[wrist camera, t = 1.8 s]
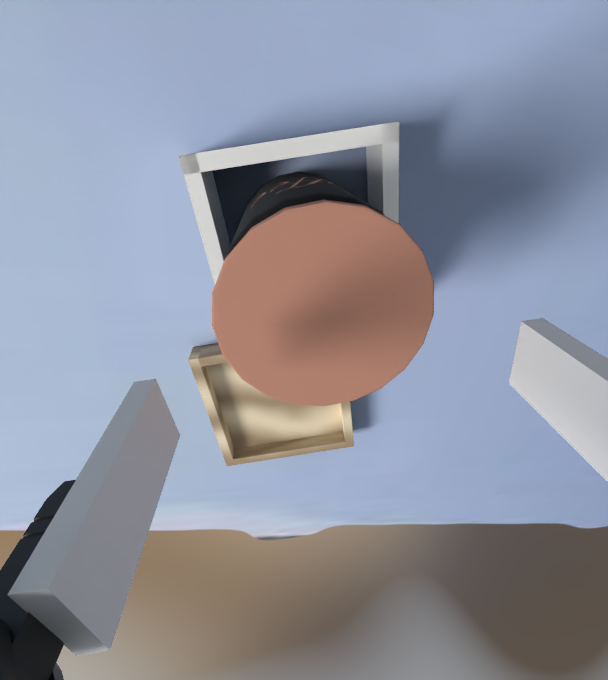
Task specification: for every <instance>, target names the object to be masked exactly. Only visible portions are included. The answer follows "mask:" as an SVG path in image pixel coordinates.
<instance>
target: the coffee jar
mask: <svg viewBox="0 0 608 680" xmlns="http://www.w3.org/2000/svg"><path fill="white" fill-rule="evenodd" d="M433 314H434V281H433V278H432V275H431V273H430V270H429V267H428V264H427V261H426V259H425V256H424V253H423V250H422V249H421V248H420V247H419V246H418V244H417V243H416V242H415V241H414V240H413V239H412V238H411V236H410V235H409V234H408V233H407V232H406V231H405V229H404V228H403V227H402V226H401V225H400V224H399V223H397V222H395V221H394V220H392V219H390V218H388V217H386V216H385V215H384V214H383V213H382V212H381V211H379V210H377V209H376V208H374V207H373V206H371V205H369V204H368V203H366V202H364V201H363V200H361V199H360V198H358V197H356V196H355V195H353V194H351V193H350V192H348V191H347V190H345V189H343V188H342V187H340V186H339V185H337V184H335V183H333V182H331V181H330V180H328V179H326V178H324V177H322V176H320V175H317V174H310V173H304V172H295V173H291V174H286V175H281V176H278V177H276V178H275V179H273V180H271V181H270V182H268V183H266V184H265V185H263V186H262V187H261V188H260V189H259V190H258V191H257V193H256V194H255V195H254V196H253V198H252V199H251V200H250V201H249V202H248V205H247V207H246V210H245V212H244V214H243V217H242V219H241V221H240V224H239V226H238V228H237V231H236V233H235V235H234V238H233V240H232V243H231V245H230V248H229V250H228V253H227V256H226V258H225V260H224V263H223V266H222V268H221V271H220V274H219V276H218V279H217V282H216V284H215V287H214V290H213V292H212V327H213V329H214V332H215V335H216V338H217V341H218V343H219V346H220V349H221V352H222V355H223V357H224V358H225V359H226V360H227V361H228V363H229V364H230V365H231V366H232V368H233V369H234V370H235V371H236V373H237V374H238V375H239V376H240V378H241V379H242V380H244V381H245V382H247V383H248V384H250V385H251V386H253V387H254V388H256V389H257V390H259V391H260V392H262V393H263V394H265V395H266V396H269V397H272V398H275V399H278V400H281V401H284V402H288V403H291V404H294V405H309V406H329V405H334V404H339V403H344V402H349V401H354V400H356V399H358V398H361V397H363V396H365V395H367V394H369V393H372V392H374V391H376V390H378V389H380V388H382V387H383V386H384V385H386V384H387V383H388V382H389V381H391V380H392V379H393V378H394V377H396V376H397V375H398V374H399V373H401V372H402V371H403V370H404V369H405V368H406V367H407V366H408V364H409V363H410V361H411V360H412V359H413V357H414V356H415V355H416V353H417V352H418V350H419V349H420V348H421V346H422V345H423V343H424V340H425V337H426V335H427V332H428V329H429V326H430V323H431V320H432V317H433Z"/></svg>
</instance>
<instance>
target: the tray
mask: <svg viewBox="0 0 608 680" xmlns="http://www.w3.org/2000/svg"><path fill="white" fill-rule="evenodd" d="M188 361H189V364H190V366H191V369H192V372H193V375H194V377H195V380H196V383H197V385H198V388H199V391H200V394H201V396H202V399H203V402H204V404H205V407H206V410H207V413H208V415H209V418H210V421H211V424H212V426H213V429H214V432H215V434H216V437H217V440H218V443H219V445H220V448H221V451H222V454H223V456H224V459H225V462H226V464H227V466H231V465H237V464H244V463H250V462H256V461H263V460H269V459H275V458H282V457H288V456H295V455H301V454H307V453H314V452H320V451H326V450H333V449H339V448H345V447H352V446H354V441H353V429H352V418H351V406H350V401H349V402H344V403H339V404H334V405H329V406H309V405H294V404H291V403H288V402H284V401H281V400H278V399H275V398H272V397H269V396H266V395H265V394H263V393H262V392H260V391H259V390H257V389H256V388H254V387H253V386H251V385H250V384H248V383H247V382H245V381H244V380H242V379H241V378H240V376H239V375H238V374H237V373H236V371H235V370H234V369H233V368H232V366H231V365H230V364H229V363H228V361H227V360H226V359H225V358H224V357H223V355H222V352H221V349H220V346H219V343H218V344H211V345H205V346H199V347H193V349H192V352H191V354H190V357H189V359H188Z"/></svg>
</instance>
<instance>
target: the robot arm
mask: <svg viewBox="0 0 608 680" xmlns="http://www.w3.org/2000/svg"><path fill="white" fill-rule="evenodd" d="M509 384H510V385H511V386H512V387H513V388H514V389H515V390H516V391H517V392H518V393H519V394H520V395H521V396H522V397H523V398H524V399H525V400H526V401H527V402H528V403H529V404H530V405H531V406H532V407H533V408H534V409H535V410H536V411H537V412H538V413H539V414H540V415H541V416H542V417H543V418H544V419H545V420H546V421H547V422H548V423H549V424H550V425H551V426H552V427H553V428H554V429H555V430H556V431H557V432H558V433H559V434H560V435H561V436H562V437H563V438H564V439H565V440H566V441H567V442H568V443H569V444H570V445H571V446H572V447H573V448H574V449H575V450H576V451H577V452H578V453H579V454H580V455H581V456H582V457H583V458H584V459H585V460H586V461H587V462H588V463H589V464H590V465H591V466H592V467H593V468H594V469H595V470H596V471H597V472H598V473H599V474H600V475H601V476H602V477H603V478H604V479H605V480H606V481H607V482H608V359H607V358H606V357H604V356H602V355H601V354H599V353H598V352H596V351H594V350H593V349H591V348H590V347H588V346H586V345H585V344H583V343H582V342H580V341H578V340H577V339H575V338H574V337H572V336H571V335H569V334H567V333H566V332H564V331H563V330H561V329H559V328H558V327H556V326H555V325H553V324H551V323H550V322H548V321H547V320H545V319H543V318H540V319H534V320H527V321H521V326H520V331H519V336H518V341H517V346H516V351H515V356H514V361H513V366H512V371H511V375H510V380H509ZM179 437H180V434H179V432H178V429H177V427H176V425H175V422H174V420H173V418H172V415H171V413H170V411H169V408H168V406H167V404H166V402H165V399H164V397H163V395H162V392H161V390H160V388H159V385H158V383H157V381H156V379H151V380H145V381H139V382H134V384H133V385H132V387H131V389H130V390H129V392H128V394H127V395H126V397H125V399H124V400H123V402H122V404H121V405H120V407H119V409H118V410H117V412H116V414H115V415H114V417H113V419H112V420H111V422H110V424H109V425H108V427H107V429H106V430H105V432H104V434H103V435H102V437H101V439H100V440H99V442H98V444H97V446H96V447H95V449H94V451H93V452H92V454H91V456H90V457H89V459H88V461H87V462H86V464H85V466H84V467H83V469H82V471H81V472H80V474H79V476H78V477H77V479H76V480H71V481H65V482H64V483H63V484H62V485H60V486H59V487H58V488H57V489H56V490H55V491H54V492H53V493H52V494H51V495H50V496H49V497H48V498H47V499H46V501H45V502H44V504H43V505H42V507H41V508H40V510H39V512H38V513H37V515H36V516H35V518H34V522H32V523H31V524H30V525H29V527H28V529H27V530H26V532H25V533H24V537H23V539H21V540H20V541H19V542H18V544H17V546H16V547H15V549H14V550H13V552H12V553H11V555H10V556H9V558H8V559H7V561H6V562H5V564H4V566H3V567H2V569H1V570H0V680H64V679H63V675H62V671H61V669H60V668H59V666H58V665H57V663H56V662H57V659H58V657H59V654H60V652H61V650H62V647H63V645H65V646H66V647H67V648H68V649H69V650H70V651H72V652H73V653H74V654H75V655H82V654H88V653H95V652H101V651H107V650H110V648H111V645H112V641H113V639H114V636H115V633H116V630H117V627H118V623H119V620H120V617H121V614H122V611H123V608H124V605H125V602H126V599H127V596H128V593H129V590H130V587H131V584H132V580H133V577H134V574H135V571H136V568H137V565H138V562H139V559H140V556H141V553H142V550H143V547H144V544H145V541H146V538H147V535H148V532H149V529H150V525H151V522H152V519H153V516H154V513H155V510H156V507H157V504H158V501H159V498H160V495H161V492H162V489H163V486H164V483H165V480H166V477H167V473H168V470H169V467H170V464H171V461H172V458H173V455H174V452H175V449H176V446H177V443H178V440H179Z"/></svg>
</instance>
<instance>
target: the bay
mask: <svg viewBox="0 0 608 680" xmlns="http://www.w3.org/2000/svg"><path fill="white" fill-rule="evenodd" d="M359 147H366V166H367V192H368V204H369V205H371V206H373V207H374V208H376V209H377V210H379V211H381V212H382V213H383V214H384V215H385V216H386V217H388V218H390V219H392V220H394V221H395V222H397V223H399V121H398V122H392V123H385V124H379V125H373V126H366V127H360V128H353V129H347V130H341V131H334V132H328V133H321V134H315V135H309V136H302V137H296V138H289V139H283V140H277V141H270V142H264V143H257V144H251V145H245V146H238V147H232V148H225V149H219V150H213V151H206V152H200V153H193V154H187V155H180V156H179V159H180V163H181V166H182V170H183V173H184V177H185V180H186V184H187V188H188V191H189V195H190V198H191V202H192V205H193V209H194V212H195V216H196V219H197V223H198V227H199V230H200V234H201V237H202V241H203V244H204V248H205V251H206V255H207V258H208V262H209V266H210V269H211V273H212V276H213V280H214V283H215V284H216V282H217V279H218V276H219V274H220V271H221V268H222V266H223V263H224V260H225V258H226V256H227V253H228V250H229V248H230V242H229V237H228V233H227V229H226V225H225V221H224V217H223V213H222V209H221V204H220V200H219V196H218V192H217V188H216V184H215V180H214V176H213V172H212V170H218V169H225V168H231V167H238V166H244V165H250V164H257V163H263V162H270V161H276V160H282V159H289V158H295V157H302V156H308V155H314V154H321V153H327V152H334V151H340V150H346V149H353V148H359Z"/></svg>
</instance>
